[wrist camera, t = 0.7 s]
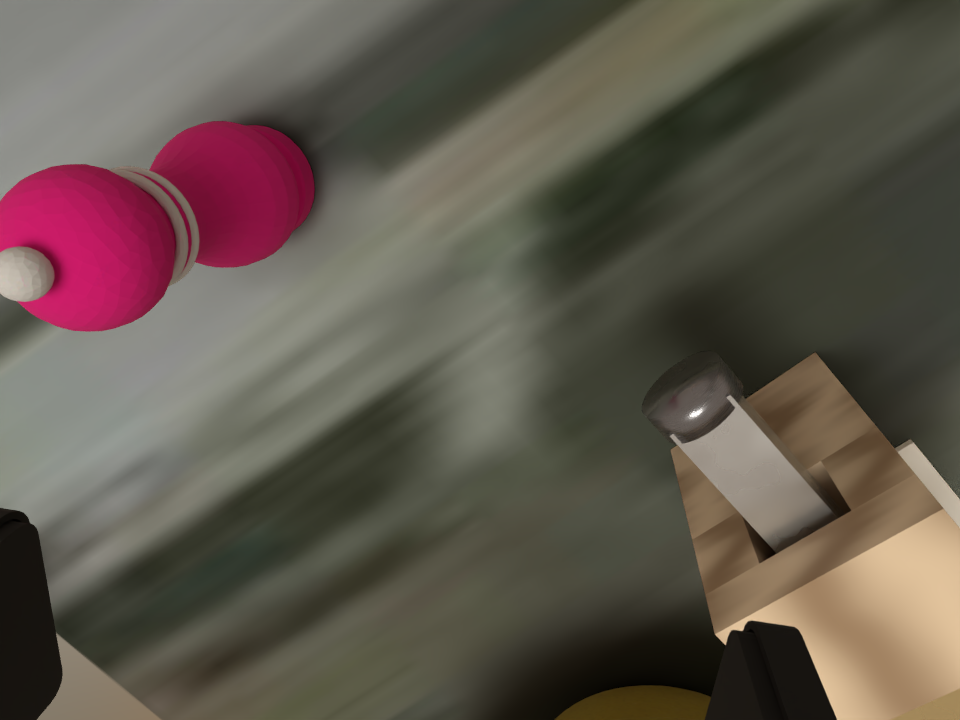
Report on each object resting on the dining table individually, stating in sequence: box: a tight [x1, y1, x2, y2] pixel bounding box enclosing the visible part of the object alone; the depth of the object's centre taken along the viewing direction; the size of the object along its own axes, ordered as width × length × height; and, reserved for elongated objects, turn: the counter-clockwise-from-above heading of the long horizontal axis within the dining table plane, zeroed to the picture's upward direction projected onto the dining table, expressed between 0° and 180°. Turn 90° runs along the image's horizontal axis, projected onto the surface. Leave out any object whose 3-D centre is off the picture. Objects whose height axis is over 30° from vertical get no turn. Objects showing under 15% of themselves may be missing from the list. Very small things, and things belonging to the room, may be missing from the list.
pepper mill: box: [0, 121, 315, 331], centre depth 31 cm, size 7×7×20 cm
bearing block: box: [671, 353, 960, 720], centre depth 36 cm, size 10×8×15 cm
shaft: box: [642, 351, 845, 553], centre depth 33 cm, size 4×25×4 cm, turn 43°
